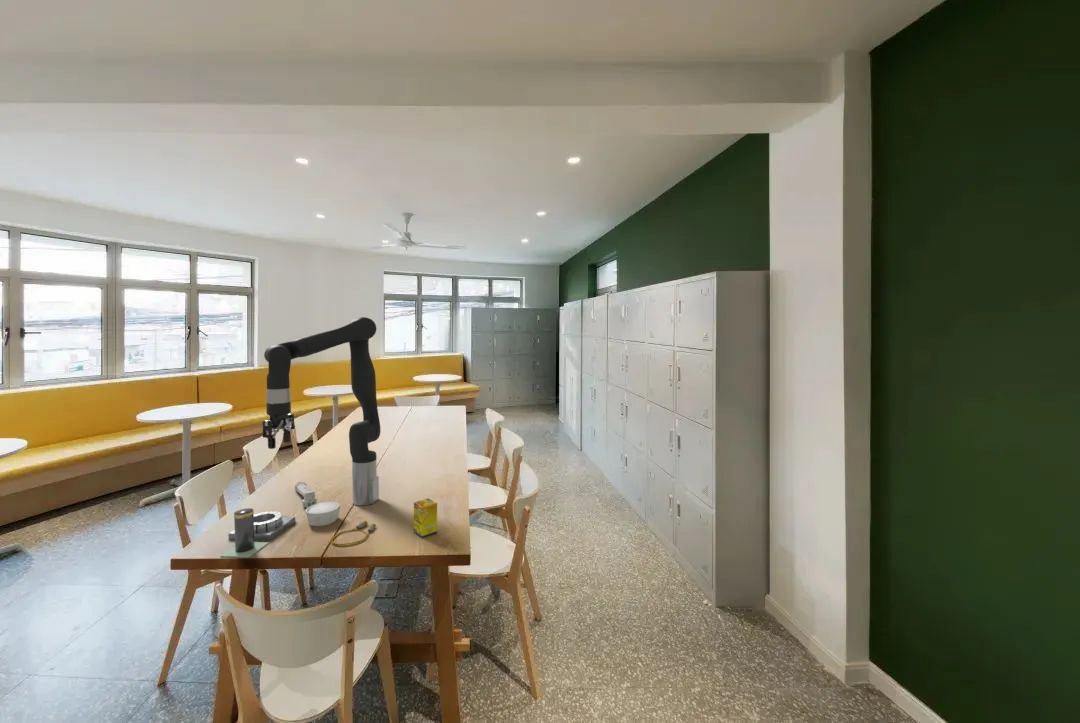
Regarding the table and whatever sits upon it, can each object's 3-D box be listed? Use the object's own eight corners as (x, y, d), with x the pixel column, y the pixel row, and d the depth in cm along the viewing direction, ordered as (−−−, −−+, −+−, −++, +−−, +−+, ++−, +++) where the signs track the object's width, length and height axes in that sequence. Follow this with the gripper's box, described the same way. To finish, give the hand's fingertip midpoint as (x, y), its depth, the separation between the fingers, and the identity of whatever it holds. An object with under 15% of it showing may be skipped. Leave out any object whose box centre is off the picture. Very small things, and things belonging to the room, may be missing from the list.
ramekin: (303, 519, 157) (303, 505, 157) (336, 512, 164) (336, 499, 164) (308, 531, 148) (308, 516, 148) (343, 522, 155) (343, 508, 155)
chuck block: (295, 522, 155) (295, 510, 155) (269, 540, 141) (269, 527, 141) (257, 520, 155) (257, 509, 155) (228, 539, 142) (228, 526, 141)
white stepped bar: (306, 480, 188) (318, 489, 169) (306, 495, 188) (318, 506, 168) (292, 482, 185) (303, 491, 165) (293, 498, 185) (303, 509, 165)
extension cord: (385, 534, 147) (385, 528, 147) (340, 551, 136) (340, 545, 135) (368, 524, 155) (368, 518, 155) (323, 539, 143) (323, 533, 143)
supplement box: (413, 532, 148) (413, 502, 147) (428, 527, 152) (428, 497, 152) (421, 538, 144) (421, 507, 143) (437, 533, 148) (437, 502, 147)
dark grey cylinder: (250, 543, 138) (248, 507, 138) (257, 547, 136) (256, 510, 135) (232, 549, 134) (230, 512, 133) (239, 554, 131) (238, 516, 131)
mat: (268, 543, 139) (268, 542, 139) (249, 557, 130) (249, 556, 130) (241, 542, 139) (241, 541, 139) (220, 556, 130) (220, 555, 130)
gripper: (281, 397, 160) (282, 440, 161) (254, 403, 146) (255, 450, 147) (300, 398, 160) (301, 440, 161) (276, 404, 146) (277, 450, 147)
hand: (279, 445), depth 154 cm, fingers open, 8 cm apart
